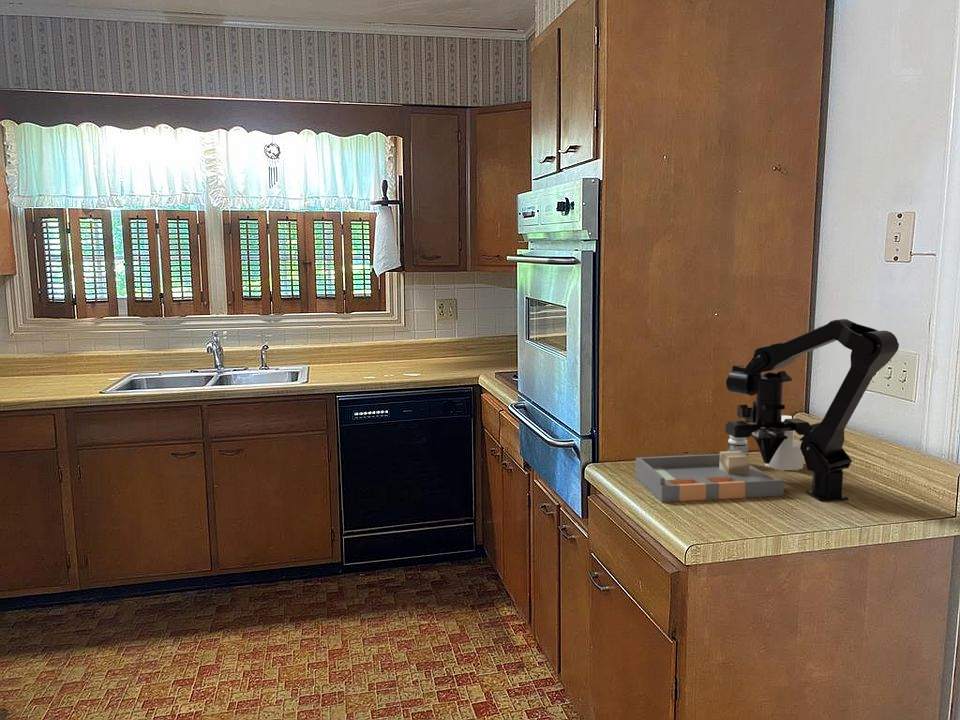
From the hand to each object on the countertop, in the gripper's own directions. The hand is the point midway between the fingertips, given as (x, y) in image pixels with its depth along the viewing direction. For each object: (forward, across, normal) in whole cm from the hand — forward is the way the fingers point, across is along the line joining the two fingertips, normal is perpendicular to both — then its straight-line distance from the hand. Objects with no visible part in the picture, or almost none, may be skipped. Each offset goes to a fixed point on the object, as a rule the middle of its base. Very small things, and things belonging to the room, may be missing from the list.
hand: (766, 463), depth 179 cm
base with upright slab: (+4, -10, -10) cm, 15 cm away
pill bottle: (+4, +1, -13) cm, 14 cm away
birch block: (+1, +8, 0) cm, 8 cm away
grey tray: (+4, +16, +3) cm, 17 cm away
